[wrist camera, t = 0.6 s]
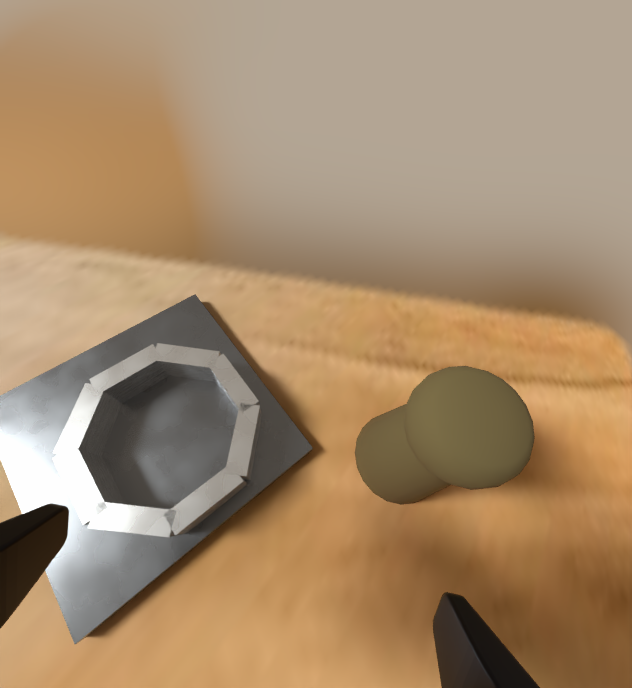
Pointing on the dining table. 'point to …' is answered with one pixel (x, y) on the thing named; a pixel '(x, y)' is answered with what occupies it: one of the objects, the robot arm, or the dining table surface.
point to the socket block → (142, 453)
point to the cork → (447, 437)
